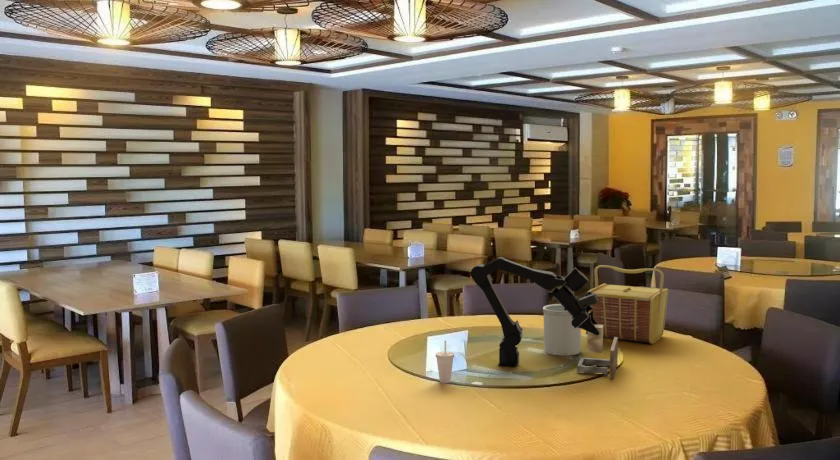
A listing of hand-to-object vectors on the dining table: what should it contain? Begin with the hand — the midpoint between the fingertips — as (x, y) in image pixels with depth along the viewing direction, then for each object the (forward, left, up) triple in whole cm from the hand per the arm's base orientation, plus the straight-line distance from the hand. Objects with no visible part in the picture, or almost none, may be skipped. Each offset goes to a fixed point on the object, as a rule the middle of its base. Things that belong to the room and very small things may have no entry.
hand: (599, 332), depth 254 cm
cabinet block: (-1, 0, -7) cm, 7 cm away
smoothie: (-48, -29, -14) cm, 58 cm away
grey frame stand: (-1, 0, -13) cm, 14 cm away
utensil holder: (-16, +22, -14) cm, 31 cm away
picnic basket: (+7, +53, -14) cm, 55 cm away
